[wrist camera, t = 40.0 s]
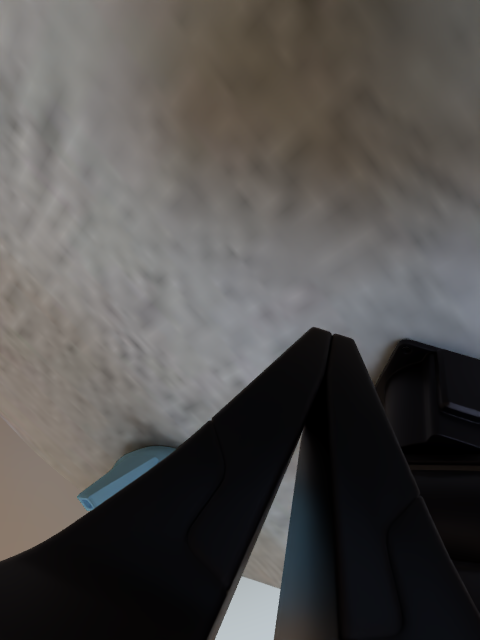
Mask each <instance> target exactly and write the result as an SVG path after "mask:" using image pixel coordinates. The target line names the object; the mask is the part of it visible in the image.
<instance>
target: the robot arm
mask: <svg viewBox="0 0 480 640" xmlns="http://www.w3.org/2000/svg"><path fill="white" fill-rule="evenodd" d="M404 347H409V348H410V349H404ZM302 431H303V433H302ZM301 433H302V438H301V444H300V451H299V458H298V465H297V473H296V480H295V487H294V495H293V502H292V510H291V517H290V524H289V532H288V539H287V547H286V554H285V561H284V569H283V576H282V583H281V591H280V599H279V606H278V613H277V620H276V628H275V635H274V640H480V360H478V359H475V358H471V357H468V356H465V355H461V354H458V353H454V352H451V351H448V350H444V349H440V348H436V347H433V346H430V345H426V344H423V343H419V342H416V341H413V340H409V339H404V340H401V341H399V343H398V344H397V346H396V348H395V350H394V351H393V353H392V355H391V357H390V359H389V361H388V363H387V364H386V366H385V368H384V370H383V372H382V374H381V376H380V377H379V379H378V381H377V383H376V385H375V387H374V385H373V383H372V380H371V378H370V376H369V374H368V371H367V369H366V367H365V364H364V362H363V360H362V357H361V355H360V353H359V351H358V348H357V346H356V344H355V342H354V340H353V339H351V338H349V337H345V336H342V335H339V334H333V335H332V334H331V333H330V332H329V331H326V330H322V329H319V328H316V327H312V328H311V329H309V330H308V331H307V332H306V333H305V334H304V335H303V336H302V337H301V338H299V339H298V340H297V341H296V342H295V343H294V344H293V345H292V346H291V347H290V348H288V349H287V350H286V351H285V352H284V353H283V354H282V355H281V356H280V357H279V358H277V359H276V360H275V361H274V362H273V363H272V364H271V365H270V366H269V367H268V368H266V369H265V370H264V371H263V372H262V373H261V374H260V375H259V376H258V377H257V378H255V379H254V380H253V381H252V382H251V383H250V384H249V385H248V386H247V387H246V388H244V389H243V390H242V391H241V392H240V393H239V394H238V395H237V396H236V397H235V398H233V399H232V400H231V401H230V402H229V403H228V404H227V405H226V406H225V407H224V408H222V409H221V410H220V411H219V412H218V413H217V414H216V415H215V416H214V417H213V418H212V420H211V421H208V422H207V423H206V424H205V425H203V426H202V427H201V428H200V429H199V430H198V431H197V432H196V433H195V434H194V435H192V436H191V437H190V438H189V439H188V440H186V441H185V442H184V443H183V444H182V445H181V446H179V447H178V448H177V449H176V450H175V451H173V452H172V453H171V454H170V455H168V456H167V457H166V458H164V459H163V460H162V461H160V462H159V463H158V464H156V465H155V466H154V467H152V468H151V469H149V470H148V471H147V472H145V473H144V474H143V475H141V476H140V477H138V478H137V479H136V480H134V481H133V482H131V483H130V484H128V485H127V486H126V487H124V488H123V489H121V490H120V491H118V492H117V493H116V494H114V495H113V496H111V497H110V498H108V499H107V500H106V501H104V502H103V503H101V504H100V505H98V506H97V507H96V508H94V509H93V510H91V511H90V512H88V513H87V514H86V515H84V516H83V517H81V518H80V519H78V520H77V521H76V522H74V523H73V524H71V525H70V526H68V527H67V528H65V529H64V530H62V531H61V532H59V533H58V534H56V535H54V536H53V537H51V538H49V539H48V540H46V541H44V542H42V543H40V544H39V545H37V546H35V547H33V548H31V549H29V550H27V551H24V552H22V553H20V554H18V555H16V556H13V557H10V558H8V559H6V560H3V561H0V640H215V637H216V635H217V633H218V630H219V628H220V626H221V623H222V621H223V619H224V616H225V614H226V611H227V609H228V607H229V604H230V602H231V600H232V597H233V595H234V593H235V590H236V588H237V585H238V583H239V581H240V578H241V576H242V574H243V571H244V569H245V567H246V564H247V562H248V559H249V557H250V555H251V552H252V550H253V548H254V545H255V543H256V541H257V538H258V536H259V533H260V531H261V529H262V526H263V524H264V522H265V519H266V517H267V515H268V512H269V510H270V507H271V505H272V503H273V500H274V498H275V496H276V493H277V491H278V489H279V486H280V484H281V481H282V479H283V477H284V474H285V472H286V470H287V467H288V465H289V463H290V460H291V458H292V455H293V453H294V451H295V448H296V446H297V444H298V441H299V439H300V436H301Z"/></svg>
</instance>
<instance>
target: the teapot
mask: <svg viewBox="0 0 480 640" xmlns="http://www.w3.org/2000/svg"><path fill="white" fill-rule="evenodd" d="M175 450H176V448H171V447H165V446H149V447H145V448H142V449H138V450H135V451H133V452H130V453H128V454H126V455H124V456H123V457H121V458H120V459H119V460H118V461H117V462H116V463H115V465H114V467H113V468H112V470H111V471H109V472H108V473H107V474H105V475H104V476H103V477H101V478H100V479H99V480H97V481H96V482H95V483H93V484H92V485H91V486H89V487H88V488H87V489H85V490H84V491H83V492H81V493H80V494H79V495H78V496H77V498H78V499H79V501H80V502H81V503H82V505H83V506H84V507H85V509H86V510H87V511H91V510H93V509H94V508H96V507H97V506H98V505H100V504H101V503H103V502H104V501H106V500H107V499H108V498H110V497H111V496H113V495H114V494H116V493H117V492H118V491H120V490H121V489H123V488H124V487H126V486H127V485H128V484H130V483H131V482H133V481H134V480H136V479H137V478H138V477H140V476H141V475H143V474H144V473H145V472H147V471H148V470H149V469H151V468H152V467H154V466H155V465H156V464H158V463H159V462H160V461H162V460H163V459H164V458H166V457H167V456H168V455H170V454H171V453H172V452H173V451H175Z"/></svg>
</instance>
